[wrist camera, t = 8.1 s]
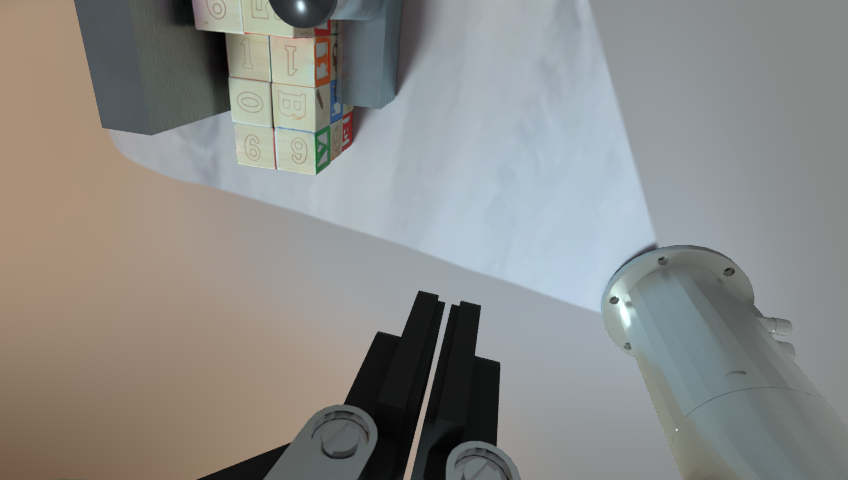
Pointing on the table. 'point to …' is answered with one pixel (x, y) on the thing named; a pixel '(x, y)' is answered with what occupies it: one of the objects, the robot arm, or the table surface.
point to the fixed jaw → (152, 64)
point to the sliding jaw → (355, 44)
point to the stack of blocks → (280, 86)
